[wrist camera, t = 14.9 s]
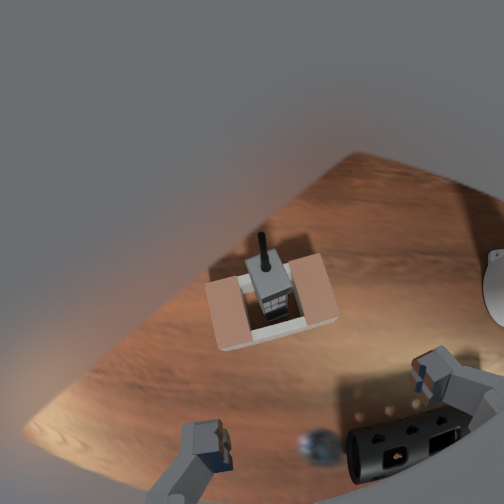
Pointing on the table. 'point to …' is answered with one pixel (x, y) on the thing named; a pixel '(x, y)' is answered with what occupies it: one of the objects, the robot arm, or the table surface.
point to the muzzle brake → (403, 442)
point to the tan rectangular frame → (241, 334)
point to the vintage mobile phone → (269, 281)
